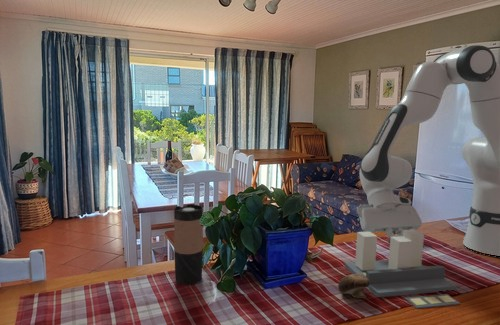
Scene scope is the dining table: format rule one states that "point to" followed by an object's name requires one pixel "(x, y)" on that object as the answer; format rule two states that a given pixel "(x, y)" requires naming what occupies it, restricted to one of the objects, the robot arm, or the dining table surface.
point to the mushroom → (354, 285)
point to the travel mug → (188, 244)
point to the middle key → (399, 252)
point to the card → (432, 301)
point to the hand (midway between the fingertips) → (398, 242)
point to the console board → (403, 279)
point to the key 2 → (415, 246)
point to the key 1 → (366, 250)
